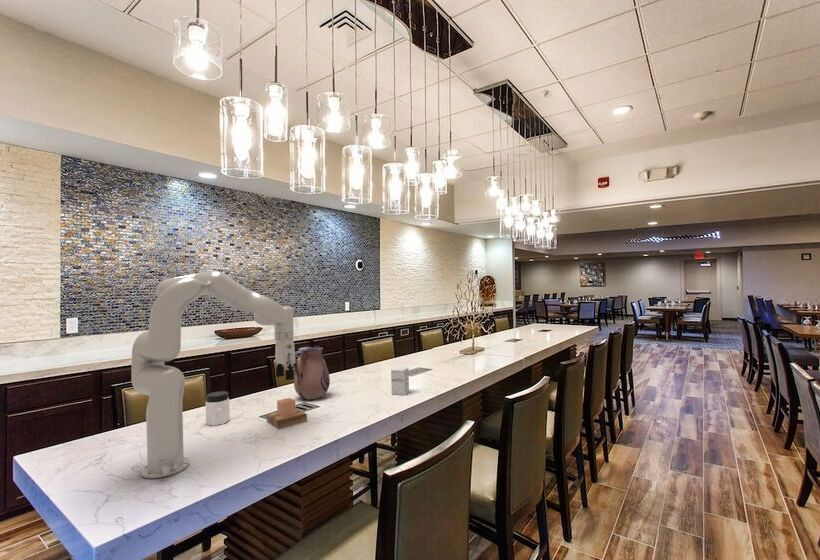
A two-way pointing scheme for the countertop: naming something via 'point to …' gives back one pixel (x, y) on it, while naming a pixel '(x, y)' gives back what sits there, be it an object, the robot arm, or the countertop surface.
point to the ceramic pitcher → (311, 373)
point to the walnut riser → (286, 419)
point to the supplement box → (400, 380)
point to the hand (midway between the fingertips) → (284, 377)
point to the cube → (286, 407)
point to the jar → (217, 408)
